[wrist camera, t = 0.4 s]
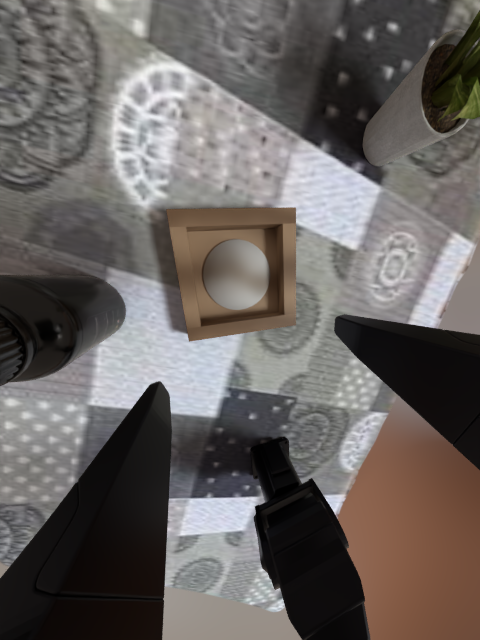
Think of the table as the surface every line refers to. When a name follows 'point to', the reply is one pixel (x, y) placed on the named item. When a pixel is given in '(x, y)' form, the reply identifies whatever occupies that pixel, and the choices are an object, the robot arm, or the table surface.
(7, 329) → the supplement bottle
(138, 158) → the table surface
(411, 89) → the house plant
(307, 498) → the robot arm
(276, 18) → the table surface
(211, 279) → the holder
